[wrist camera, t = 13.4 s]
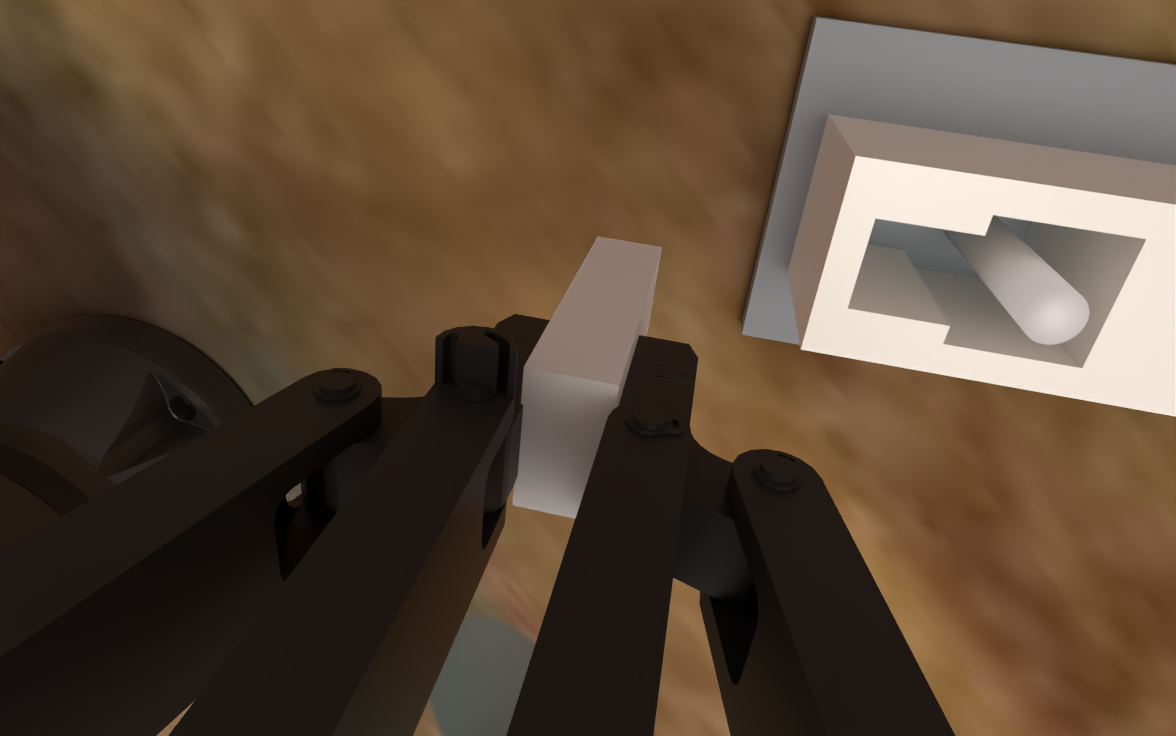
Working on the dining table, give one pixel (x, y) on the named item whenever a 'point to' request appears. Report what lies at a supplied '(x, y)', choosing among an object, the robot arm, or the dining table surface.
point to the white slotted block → (965, 304)
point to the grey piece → (967, 106)
